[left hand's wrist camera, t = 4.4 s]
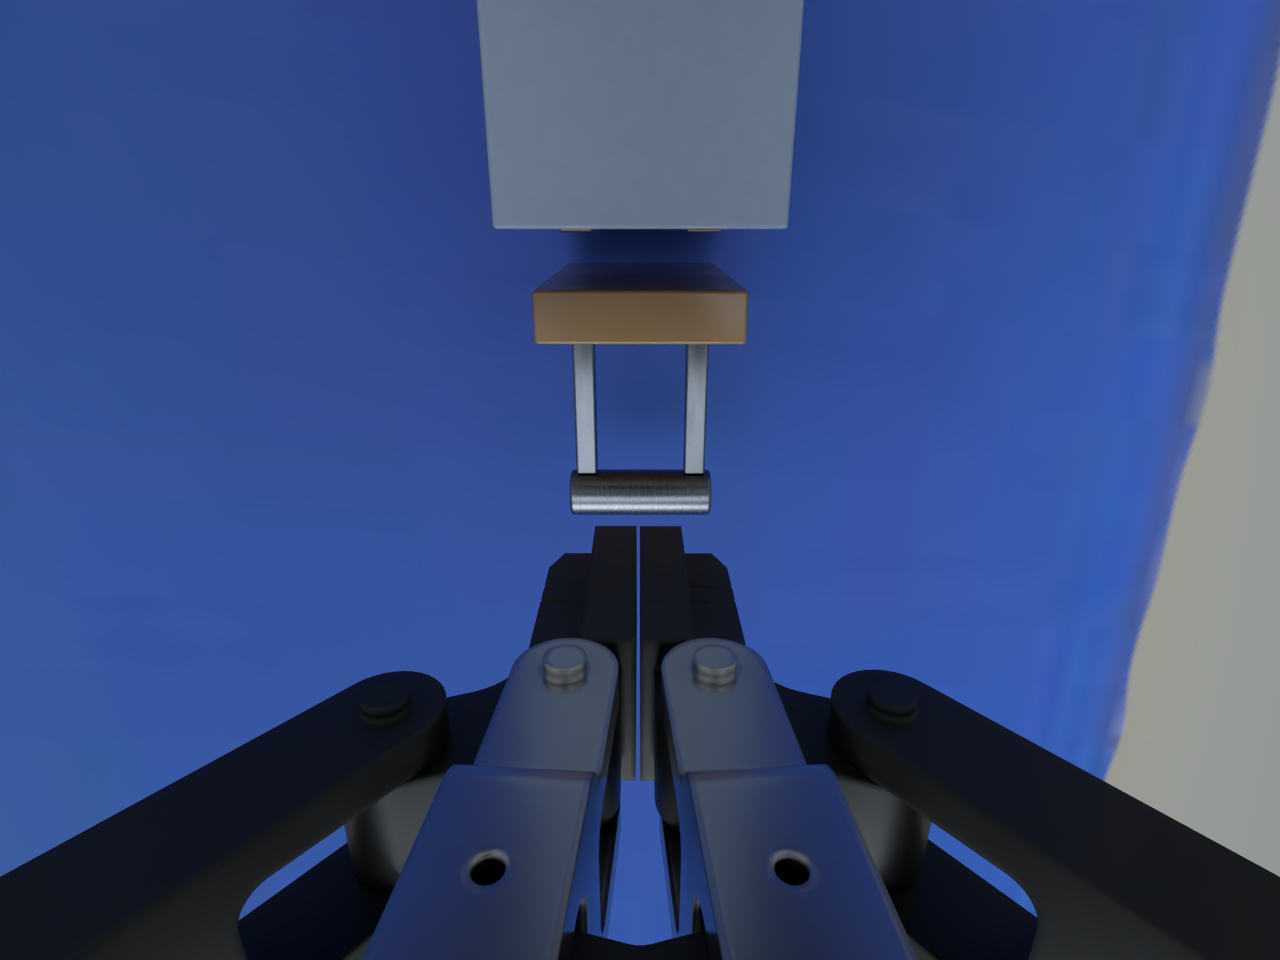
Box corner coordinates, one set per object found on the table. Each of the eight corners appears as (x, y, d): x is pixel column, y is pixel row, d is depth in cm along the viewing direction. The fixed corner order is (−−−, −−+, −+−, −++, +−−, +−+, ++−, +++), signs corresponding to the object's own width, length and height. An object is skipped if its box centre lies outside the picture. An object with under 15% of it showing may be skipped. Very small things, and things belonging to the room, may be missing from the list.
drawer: (705, 463, 26) (734, 574, 18) (575, 463, 26) (546, 573, 18) (736, -367, 18) (810, -822, 10) (545, -367, 18) (470, -821, 10)
